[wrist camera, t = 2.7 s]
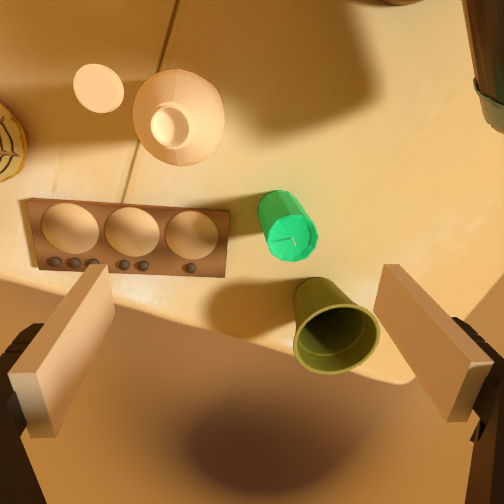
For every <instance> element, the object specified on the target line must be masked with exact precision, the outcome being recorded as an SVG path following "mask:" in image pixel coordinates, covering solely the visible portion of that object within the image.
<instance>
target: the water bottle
mask: <svg viewBox="0 0 504 504" xmlns="http://www.w3.org/2000/svg"><path fill="white" fill-rule="evenodd" d="M73 88H74V93H75V95H76V97H77V99H78V101H79V102H80V103H81V104H82V105H83V106H84V107H85V108H87V109H88V110H90V111H92V112H95V113H108V112H111V111H114V110H115V109H117V108H118V107H119V106H120V104H121V103H122V101H123V97H124V88H123V84H122V82H121V80H120V78H119V76H118V75H117V74H116V73H115V72H114V71H113V70H112V69H110V68H108V67H106V66H104V65H100V64H86V65H84V66H82V67H81V68H80V69H79V70H78V71H77V72H76V74H75V75H74V80H73ZM132 116H133V124H134V128H135V131H136V134H137V136H138V138H139V140H140V142H141V143H142V145H143V146H144V147H145V149H146V150H147V151H148V152H149V153H150V154H152V155H153V156H154V157H155V158H157V159H159V160H160V161H162V162H165V163H167V164H171V165H175V166H188V165H193V164H196V163H199V162H201V161H203V160H205V159H206V158H207V157H209V156H210V155H211V154H212V153H213V152H214V151H215V149H216V148H217V146H218V145H219V143H220V141H221V139H222V136H223V132H224V126H225V116H224V110H223V104H222V99H221V96H220V94H219V92H218V91H217V89H216V88H215V87H214V86H213V85H212V84H211V83H210V82H208V81H207V80H205V79H203V78H202V77H200V76H198V75H197V74H194V73H192V72H189V71H186V70H182V69H170V70H165V71H161V72H159V73H156V74H155V75H153V76H151V77H150V78H149V79H147V80H146V81H145V82H144V83H143V85H142V86H141V87H140V89H139V91H138V92H137V95H136V97H135V100H134V104H133V112H132Z"/></svg>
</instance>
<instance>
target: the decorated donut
mask: <svg viewBox="0 0 504 504" xmlns="http://www.w3.org/2000/svg"><path fill="white" fill-rule="evenodd" d="M27 154H28V146H27V138H26V134H25V132H24V130H23V128H22V126H21V124H20V122H19V120H18V119H17V118H16V117H15V115H14V114H13V113H12V112H11V111H10V110H9V109H8V108H7V107H6V106H4V105H3V104H2V103H0V182H3V181H5V180H8V179H10V178H12V177H14V176H15V175H17V174H18V173H20V172H21V170H22V169H23V167H24V165H25V161H26V158H27Z"/></svg>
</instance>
